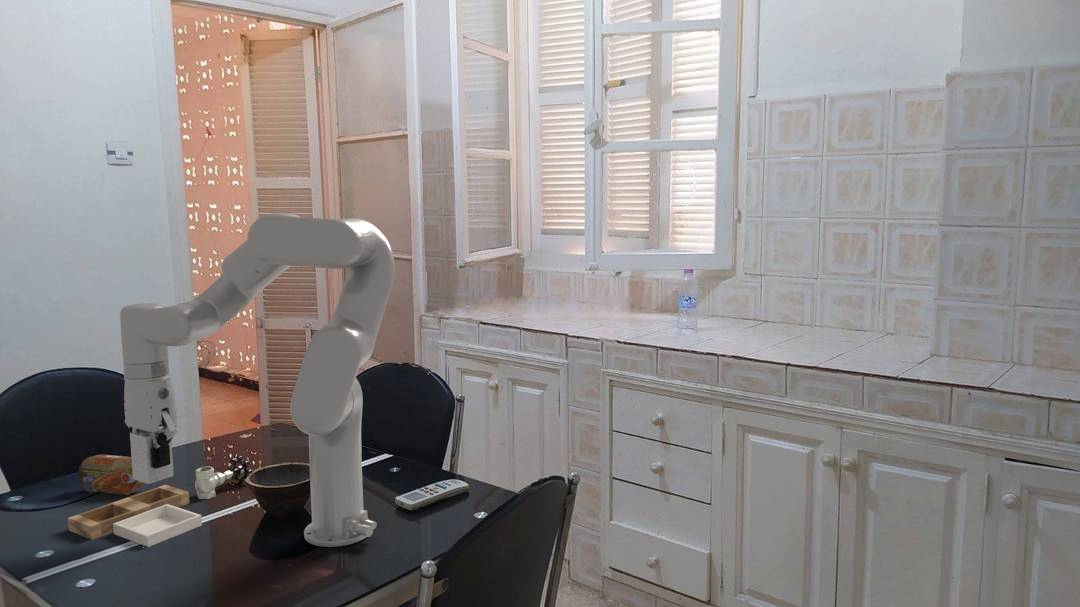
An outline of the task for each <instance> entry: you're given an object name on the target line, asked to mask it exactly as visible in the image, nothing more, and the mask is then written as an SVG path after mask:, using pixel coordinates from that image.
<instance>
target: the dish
mask: <svg viewBox="0 0 1080 607" xmlns="http://www.w3.org/2000/svg"><path fill="white" fill-rule="evenodd" d="M201 526H203V516H202V514H199V513H195V512H193V511H190V510H187V509H185V508H184V509H183V508H181V507H179V508H178V507H175V506H172V505H169V504H166V505H163V506H160V507H157V508H155V509H152V510H149V511H146V512H144V513H141V514H138V515H135V516H133V517H130V518H127V519H124V520H122V521H119V522H116V523H113V530H114V532H113V535H115V536H118V537H120V538H123V539H126V540H128V541H131V542H134V543H136V544H138V545H139V544H140V545H141V546H144V547H146V548H150V547H152V546H154V545H157V544H159V543H162V542H164V541H167V540H169V539H172V538H174V537H177V536H180V535H182V534H184V533H186V532H188V531H192V530H194V529H196V528H199V527H201Z"/></svg>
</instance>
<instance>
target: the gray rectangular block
mask: <svg viewBox="0 0 1080 607" xmlns="http://www.w3.org/2000/svg"><path fill="white" fill-rule="evenodd" d="M160 429H162V427H161V426H160V427H159V430H160ZM161 435H163V432H162V433H159V434H158V438H160V437H161ZM129 440H130V457H132V472H133V479H135V480H138V481H141V482H143V484H147V485H150V484H153V483H156V482H159V481H163V480H166V479H168V478H172V477H174V476H175V475H174V474H175V473H174V460H173V445H172V444H173V443H172V440H171V444H170V445H169V447H170V464H169V465H167V466H164V467H160V468H157V469H155V468H153V462H152V448H154V445H153V440H152V436H151V432H147V431H144V430H139V431H135V432H131V433H130V432H129Z"/></svg>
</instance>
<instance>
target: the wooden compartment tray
mask: <svg viewBox="0 0 1080 607" xmlns="http://www.w3.org/2000/svg"><path fill="white" fill-rule="evenodd" d="M189 494H190V492H189V491H187V490H184V489H182V488H177V487H175V486H171V485H168V484H163V485H160V486H158V487H155V488H152V489H149V490H146V491H143V492H139V493H137V494H134V495H131V496H128V497H124V498H122V499H119V500H116V501H114V502H111V503H107V504H104V505H101V506H99V507H95V508H93V509H90V510H86V511H84V512H81V513H78V514H75V515H73V516H70V517H67V525H68V526H67V527H68V531H69V532H70V533H71V532H72V533H74V534H76V535H78V536H81V537H84V538H87V539H89V540H95V539H98V538H100V537H104V536H106V535H109V534H111V533H114V530H113V523H116V522H119V521H122V520H124V519H127V518H130V517H133V516H135V515H138V514H141V513H144V512H146V511H149V510H152V509H155V508H157V507H160V506H163V505H166V504H169V505H172V506H175V507H178V508H181V507H183V506H186V505H189V504H190V495H189Z"/></svg>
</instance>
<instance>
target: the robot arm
mask: <svg viewBox="0 0 1080 607" xmlns="http://www.w3.org/2000/svg"><path fill="white" fill-rule="evenodd" d="M247 232H248V233H247V236H246V237H247V238H246V240H245V241H244V242H242V243H241V244H240V245H239V246H237V248H236V249H234V250H233V251H231V252H230V253H229V254H228V255H226V256H225V258H224V259H222V262H221V270H222V272H221V274H220V276H218V278H217V279H216V281H214V282H213V283H212V284H211V285H210V286H209V287H208V288H206V289H205V290H204V291H203V292H202V293H200V294H199V295H198V296H197V297H195V298H194V299H191V300H189V301H183V302H181V303H178V304H174V305H169V306H163V305H162V304H159V303H149V302H147V303H145V302H143V303H134V304H133V303H132V304H128V305H124V306H123V307H122V308H121V310H120V313H119V319H120V320H119V322H120V338H121V351H122V352H121V353H122V365H123V380H124V386H123V387H124V391H123V392H124V393H123V394H124V396H123V401H124V403H123V405H124V409H123V410H124V417H125V419H124V423H125V425H126V426H127V427H128V431H129V434H130V433H131V432H135V431H139V430H144V431H147V432H151V436H152V440H153V445H154V448H152V462H153V468H155V469H157V468H160V467H164V466H167V465H169V464H170V447H169V445H170V444H171V441H172V440H173V438H174V437H175V436H176V434H177V433H178V431H177V427H178V424H179V422H178V419H179V418H178V409H177V408H178V407H177V401H176V394H175V389H174V385H173V381H172V378H171V376H170V364H169V361H170V360H169V348H168V347H174V348H175V347H184V346H187V345H191V344H192V343H194V342H197V341H199V340H203V339H205V338H208V337H210V336H212V335H213V334H215V333H216V332H218V331H219V330H221V328H222V327H224V326H225V325H226V324H228V323H229V322H230V321H231V320H233V319H234V317H236V316H237V315H239V313H241V312H242V311H243V310H244V309H245V308H246V307H247V305H249V304H250V303H251V302H252V301H253V300H254V299H255V298H256V296H257V295H258V294H259V293H260V292H261V291H263V290H264V289H265V288H266V287H267V286H269V285H270V284H271V283H273V281H275V280H276V279H277V278H278V277H279V276H281V275H282V274H283V273H284V272H285V271H287V270H289V268H291V267H292V266H294V267H306V268H307V267H308V268H319V269H328V270H329V269H331V270H334V269H335V270H336V269H337V270H339V269H340V270H341V269H347V268H348V271H347V276H346V279H345V281H344V282H343V285H342V288H341V291H340V293H339V297H338V301H337V305H336V307H335V311H334V313H333V315H332V318H331V320H330V321H329V322H328V323H327V324H326V325H325V324H324V326H322V327H320V329H318V330H317V331H316V332H315V333H314V334H313V336H312V337H311V339H310V341H309V343H308V345H307V347H306V350H305V353H304V356H303V359H302V362H301V367H300V368H299V371H298V375H297V379H296V382H295V385H294V387H293V388H294V389H293V391H292V396H291V399H290V406H289V407H290V408H289V410H290V417H291V419H292V422H293V423H294V425H295V427H297V429H299V430H300V431H301V432H302V433H304V434H306V435H308V456H309V457H308V460H309V481H310V484H309V485H310V499H311V500H310V502H311V503H310V504H311V507H310V508H311V523H309V524H307V526H306V527H305V528H304V530H303V538H304V540H305V541H306V542H307V543H309V544H311V545H314V546H316V547H324V548H326V547H327V548H333V547H335V548H336V547H337V548H338V547H345V546H349V545H352V544H356V543H359V542H360V541H363V540H365V539H366V538H370V537H371V536H372V535H373V533H374V530H375V529H376V528H377V525H378V523H377V522H376V521H374V520H371V519H370V518H369V517H368V510H366V509H364V492H363V490H364V489H363V469H362V468H363V464H362V462H363V461H362V453H363V452H362V418H363V404H364V402H363V400H364V399H363V391H362V386H361V384H360V381H359V380H358V379H357V374H358V372H359V370H360V367H362V366H363V365H364V364H365V363H366V362H367V361H368V360H369V359H370V358H371V357H372V354H373V353H374V348H375V345H376V341H377V338H378V334H379V332H380V327H381V324H382V321H383V318H384V314H385V310H386V308H387V303H388V300H389V297H390V293H391V291H392V287H393V283H394V278H395V272H396V270H395V266H396V265H395V257H394V253H393V250H392V246H391V245H390V243H389V241H388V239H387V237H386V236H385V235H384V234H383V233H382V231H380V229H378V228H377V227H376V226H375V225H374V224H372V223H371V222H369V221H367V220H365V219H362V218H357V217H350V218H349V217H348V218H336V219H335V218H320V217H319V218H318V217H317V218H316V217H305V216H304V217H303V216H300V215H297V214H295V213H287V212H282V213H281V212H279V213H278V212H277V213H276V212H275V213H267V214H264V215H262V216H260V217H258V218H257V219H256V220H255V221H253V223H252V224H251V226H250V227H249V229H248V231H247ZM159 427H160V428H162V429H160V430H159ZM162 432H163V435H161V437H160V438H158V434H159V433H162Z"/></svg>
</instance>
